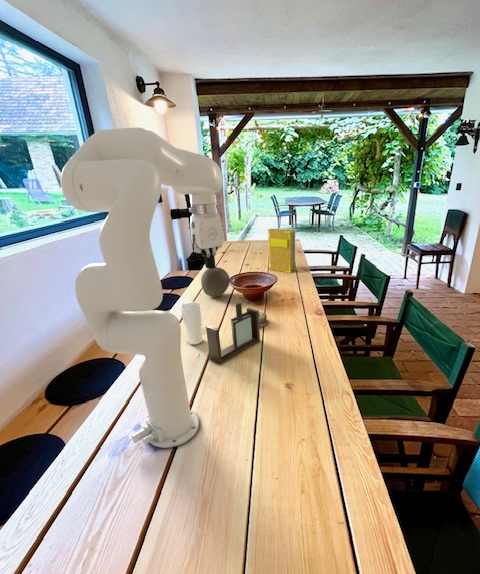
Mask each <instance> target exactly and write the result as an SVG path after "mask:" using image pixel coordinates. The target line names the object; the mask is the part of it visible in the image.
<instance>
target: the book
mask: <svg viewBox="0 0 480 574" xmlns="http://www.w3.org/2000/svg"><path fill="white" fill-rule="evenodd" d="M267 241H268V242H267V244H268V266H269V267H268V268H269V270H271V271H276V272H284V273H289V274H290V273H293V272H294V271H296V229H285V228H283V229H282V228H268V229H267Z"/></svg>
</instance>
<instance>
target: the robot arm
mask: <svg viewBox="0 0 480 574" xmlns="http://www.w3.org/2000/svg"><path fill="white" fill-rule="evenodd" d="M59 181H60V189H61V192H62V195H63V196H64V199H66V201H67V202H68V204H70V206H72V207H73V208H74V209H76V210H78V211H81V212H85V213H107V216H106V217H105V219H104V222H103V223H102V226H101V228H100V231H99V237H98V245H99V249H100V252H101V255H102V258H103V262H95V263H89V264H88V265H86V266H84V267H82V268H81V269H80V270H79V272H78V273H77V276H76V278H75V283H74V289H75V290H74V291H75V298H76V300H77V303H78V306H79V308H80V311H81V313H82V315H83V317H84V319H85V321H86V324H87V326H88V328H89V330H90V333H91V334H92V336H93V338H94V341H95V342H96V344H97V346H98V347H99V348H100V349H101V350H102V351H103V352H106V353H109V354H118V355H136V356H137V355H138V356H144V357H145V359H144V361H143V362H142V363H141V365H140V368H139V370H138V375H139V376H138V377H139V381H140V385H141V389H142V390H141V391H142V394H143V398H144V402H145V406H146V409H147V414H148V419H146V420H145V423H146V424H145V426H143V429H141V430H140V431H137V432H135V433H134V434H132V435H131V440H132V441H133V443H134V444H136V443H139V442H140V441H142V443H143V444H144V445H147V444H149V443H150V444H151V445H152V446H155V447H157V448H162V449H163V448H164V449H168V448H175V447H178V446H180V445H182V444H184V443H187V442H188V441H189V440H190V439H192V438H193V437H194V436H195V434H196V433H197V432H198V430H199V426H200V421H199V416H198V415H197V414H196V413H195V412H194V411H192V410H191V407H190V401H189V395H188V390H187V385H186V378H185V373H184V366H183V359H182V349H181V348H182V347H181V344H182V342H181V341H182V327H181V323H180V319H179V318H178V317H177V316H176V315H175V314H173V313H171V312H169V311H166V310H157V309H158V307H159V306H160V305H161V303H162V301H163V298H164V297H163V296H164V292H163V286H162V282H161V278H160V274H159V270H158V267H157V263H156V260H155V255H154V252H153V248H152V243H151V238H150V237H151V226H152V224H153V223H152V222H153V219H154V215H155V211H156V208H157V206H158V204H159V201H160V198H161V194H162V185H163V186H166V187H171V189H172V190H173V191H174V192H175V193H177V194H180V195H189V202H190V207H188V212H189V213H191V215H190V221H189V222H190V224H189V225H190V240H191V245H192V247H193V253H195V254H201V256H202V257H203V259H204V266H205V268H206V269H213V268H215V267H216V258H215V257H216V255H217V252H218V250H220V249H221V248H222V247H223V245H224V243H225V235H224V229H223V223H222V220H221V216H220V214H219V213H217V202H216V194H217V193H219V192H220V191H221V190H222V187H223V184H224V177H223V172H222V170H221V168H220V166H219V165H218V163H217V162H216V161H215V160H213V158H211V157H209V156H207V155H204V154H200V153H196V152H192V151H189V150H185V149H181V148H177V147H175V146H174V145H172V144H171V143H169V142H168V141H167V140H166V139H164V138H163V137H161V136H160V135H159V134H157V133H156V132H154V131H152V130H151V129H148V128H145V127H124V128H122V127H121V128H110V129H100V130H97V131H96V132H94V133H92V135H90V136H89V137H88V138H87V139H85V141H84V142H83V143H82V144H81V145H80V147H78V149H77V150H76V151H75V152H74V153H73V154H72V156H71V157H70V158H69V159H68V160H67V161H66V163H65V164H64V166H63V168H62V171H61V174H60V180H59Z"/></svg>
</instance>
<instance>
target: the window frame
mask: <svg viewBox="0 0 480 574" xmlns="http://www.w3.org/2000/svg"><path fill="white" fill-rule="evenodd" d="M259 312H260V311H259V310H258V309H256V308H255V309H254V308H251V307H247V308H246V309H245V312H242V318H243V317H245V316H247V315H249V314H250V315H251V328H252V340H250V341H248V342H246V343H244V344H242V345H241V346H239V347H237V348H235V347H234V336H233V325H232V322H234V321H236V320H237V317H236V316H234V317H232V318H231V319H230V325H231V336H232V344H231V345H229V346H227V347H225V348H223V349H221V347H222V346H221V340H220V339H221V338H220V330H219V328H217V327H214V326H211V325H206V326H205V330H206V339H207V346H208V355H209V360H210V361H212V362H214V363H216V364H218V365H221V364H223V363H225V362H227V361H228V360H230V359H232V358H234V357H235V356H238V355H239V354H240V353H243V352H244V351H246V350H248V349H250V348H251V347H254V346H255V345H257V344H259V343H260V342H261V331H260V330H261V329H260V327H259Z"/></svg>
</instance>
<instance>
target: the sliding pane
mask: <svg viewBox="0 0 480 574" xmlns="http://www.w3.org/2000/svg"><path fill="white" fill-rule="evenodd" d="M234 304H235V317H237V320H236V321H234V322H232V325H233V336H234V347H235V348H237V347H239V346H241V345H242V344H244V343H246V342H248V341H250V340H252V328H251V315H250V314H249V315H247V316H245V317H243V318H242V314H243V307H242V302H239V301H238V302H235V303H234Z"/></svg>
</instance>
